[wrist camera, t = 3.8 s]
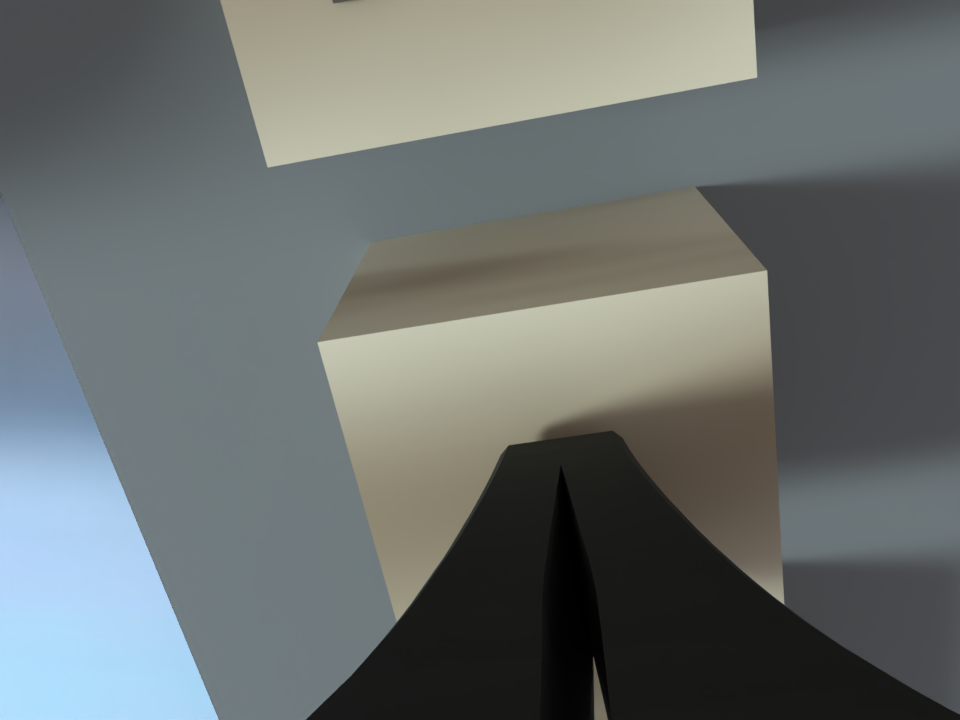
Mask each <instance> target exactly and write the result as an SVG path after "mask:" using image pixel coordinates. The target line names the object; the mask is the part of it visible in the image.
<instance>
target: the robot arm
mask: <svg viewBox="0 0 960 720" xmlns="http://www.w3.org/2000/svg"><path fill="white" fill-rule="evenodd" d="M593 657H594V661H595V666H596V670H597V674H598V679H599V683H600V688H601V692H602V696H603V701H604V705H605V709H606V714H607V718H608V720H960V714H958V713H956V712H954V711H952V710H950V709H948V708H946V707H944V706H943V705H941V704H939V703H937V702H935V701H934V700H932V699H930V698H928V697H926V696H925V695H923V694H921V693H919V692H917V691H916V690H914V689H912V688H911V687H909V686H907V685H906V684H904V683H902V682H901V681H899V680H897V679H896V678H894V677H892V676H891V675H889V674H887V673H886V672H884V671H882V670H881V669H879V668H877V667H876V666H874V665H873V664H871V663H869V662H868V661H866V660H864V659H863V658H861V657H859V656H858V655H856V654H854V653H853V652H851V651H849V650H848V649H846V648H844V647H843V646H841V645H840V644H838V643H837V642H836V641H834V640H833V639H831V638H830V637H828V636H827V635H825V634H824V633H822V632H821V631H820V630H818V629H817V628H815V627H814V626H812V625H811V624H809V623H808V622H807V621H805V620H804V619H803V618H801V617H800V616H799V615H797V614H796V613H795V612H793V611H792V610H791V609H789V608H788V607H787V606H785V605H784V604H783V603H781V602H780V601H779V600H777V599H776V598H775V597H774V596H772V595H771V594H770V593H769V592H767V591H766V590H765V589H764V588H762V587H761V586H760V585H759V584H757V583H756V582H755V581H754V580H753V579H751V578H750V577H749V576H748V575H747V574H746V573H744V572H743V571H742V570H741V569H740V568H739V567H738V566H736V565H735V564H734V563H733V562H732V561H731V560H730V559H729V558H728V557H726V556H725V555H724V554H723V553H722V552H721V551H720V550H719V549H718V548H717V547H715V546H714V545H713V544H712V543H711V542H710V541H709V540H708V539H707V538H706V537H705V536H704V535H703V534H702V533H701V532H700V531H699V530H698V529H697V528H696V527H695V526H694V525H693V524H692V523H691V522H690V521H689V520H688V519H687V518H686V517H685V516H684V515H683V513H682V512H681V511H680V510H679V509H678V508H677V507H676V506H675V505H674V504H673V503H672V502H671V501H670V500H669V499H668V498H667V496H666V495H665V494H664V493H663V492H662V491H661V490H660V488H659V487H658V486H657V485H656V484H655V482H654V481H653V480H652V479H651V478H650V476H649V475H648V474H647V473H646V471H645V470H644V469H643V468H642V466H641V465H640V464H639V462H638V461H637V460H636V458H635V457H634V455H633V454H632V452H631V451H630V449H629V448H628V446H627V444H626V443H625V441H624V439H623V438H622V437H621V436H619V435H618V434H617V433H615V432H614V431H606V432H599V433H592V434H585V435H578V436H571V437H564V438H557V439H550V440H542V441H535V442H528V443H521V444H514V445H508V447H507V448H506V449H505V450H504V451H503V453H502V454H501V455H500V457H499V460H498V462H497V464H496V466H495V468H494V470H493V472H492V474H491V476H490V478H489V480H488V482H487V484H486V486H485V488H484V490H483V492H482V494H481V496H480V497H479V499H478V501H477V503H476V505H475V507H474V508H473V510H472V512H471V514H470V515H469V517H468V519H467V520H466V522H465V523H464V525H463V527H462V528H461V530H460V532H459V533H458V535H457V537H456V538H455V540H454V542H453V543H452V545H451V547H450V548H449V550H448V551H447V553H446V554H445V556H444V558H443V559H442V560H441V562H440V563H439V565H438V566H437V568H436V569H435V570H434V572H433V573H432V575H431V576H430V578H429V579H428V580H427V582H426V583H425V585H424V586H423V587H422V589H421V590H420V592H419V593H418V595H417V596H416V597H415V599H414V600H413V602H412V603H411V604H410V606H409V607H408V608H407V610H406V611H405V612H404V614H403V615H402V616H401V617H400V619H399V620H398V621H397V622H396V624H395V625H394V626H393V628H392V629H391V630H390V631H389V632H388V634H387V635H386V636H385V637H384V638H383V640H382V641H381V642H380V643H379V644H378V646H377V647H376V648H375V649H374V650H373V651H372V652H371V654H370V655H369V656H368V657H367V658H366V659H365V660H364V662H363V663H362V664H361V665H360V666H359V667H358V668H357V670H356V671H355V672H354V673H353V674H352V675H351V676H350V677H349V678H348V679H347V680H346V681H345V682H344V683H343V684H342V685H341V686H340V687H339V688H338V689H337V690H336V691H335V692H334V693H333V694H332V695H331V696H330V697H329V698H328V699H326V700H325V701H324V702H323V703H322V704H321V705H320V706H319V707H318V708H317V709H316V710H315V711H314V712H313V713H312V714H311V715H310V716H309V717H308V718H307V719H306V720H594V664H593Z"/></svg>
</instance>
